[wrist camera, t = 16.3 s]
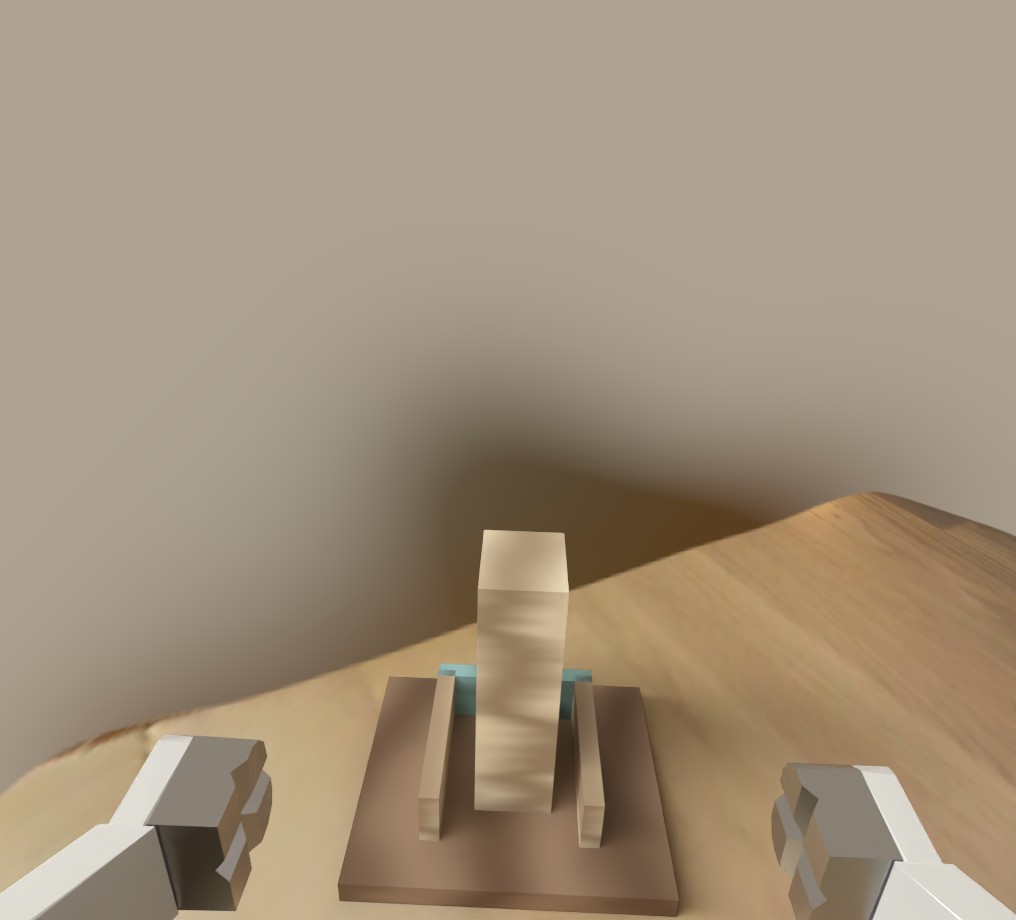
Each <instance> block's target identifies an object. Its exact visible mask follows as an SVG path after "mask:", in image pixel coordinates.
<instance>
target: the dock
mask: <svg viewBox="0 0 1016 920" xmlns="http://www.w3.org/2000/svg"><path fill="white" fill-rule="evenodd" d="M476 679H477V665H460V664H440V667H439V673H438V679H433V678H410V677H389V680H388V684H387V688H386V692H385V696H384V700H383V704H382V708H381V712H380V716H379V720H378V724H377V728H376V732H375V736H374V740H373V744H372V748H371V752H370V756H369V760H368V765H367V769H366V773H365V777H364V781H363V785H362V789H361V793H360V797H359V801H358V805H357V809H356V813H355V817H354V821H353V825H352V829H351V833H350V837H349V841H348V845H347V849H346V853H345V857H344V861H343V865H342V869H341V874H340V878H339V882H338V890H339V900H340V901H359V902H381V903H402V904H423V905H444V906H465V907H486V908H507V909H528V910H549V911H570V912H591V913H612V914H633V915H654V916H675V917H676V913H677V908H678V903H679V897H678V892H677V887H676V881H675V876H674V870H673V865H672V860H671V854H670V849H669V844H668V838H667V833H666V827H665V822H664V817H663V811H662V806H661V800H660V795H659V790H658V784H657V779H656V774H655V768H654V763H653V757H652V752H651V747H650V741H649V736H648V730H647V725H646V720H645V714H644V709H643V704H642V698H641V693H640V688H638V687H615V686H592V678H591V670H574V669H563V671H562V683H561V695H560V708H559V720H558V732H557V745H556V757H555V769H554V781H553V794H552V806H551V813H531V812H508V811H485V810H474V799H475V739H476Z"/></svg>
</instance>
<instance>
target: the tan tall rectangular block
mask: <svg viewBox="0 0 1016 920" xmlns="http://www.w3.org/2000/svg"><path fill="white" fill-rule="evenodd" d="M483 537H484V538H483V546H482V556H481V565H480V575H479V584H478V619H477V679H476V739H475V799H474V810H485V811H508V812H531V813H551V806H552V794H553V781H554V769H555V757H556V745H557V732H558V720H559V708H560V695H561V683H562V671H563V659H564V646H565V634H566V622H567V609H568V597H569V588H568V576H567V564H566V551H565V539H564V533H547V532H522V531H498V530H484V536H483Z"/></svg>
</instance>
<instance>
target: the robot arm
mask: <svg viewBox="0 0 1016 920" xmlns="http://www.w3.org/2000/svg"><path fill="white" fill-rule="evenodd" d="M266 758H267V754H266V750H265V745H264V742H263V741H260V740H250V739H236V738H222V737H208V736H188V735H173V734H166V735H165V736H164V737H163V738H161V739H160V740H159V741H158V742H157V743H156V745H155V747H154V748H153V750H152V752H151V753H150V755H149V757H148V758H147V760H146V762H145V763H144V765H143V767H142V768H141V770H140V772H139V773H138V775H137V777H136V779H135V780H134V782H133V784H132V785H131V787H130V789H129V790H128V792H127V794H126V795H125V797H124V799H123V800H122V802H121V804H120V805H119V807H118V809H117V810H116V812H115V814H114V815H113V817H112V819H111V820H110V822H109V824H98V825H96V826H95V827H93V828H92V829H91V830H89V831H88V832H86V833H85V834H84V835H82V836H81V837H79V838H78V839H76V840H75V841H74V842H72V843H71V844H69V845H68V846H67V847H65V848H64V849H62V850H61V851H59V852H58V853H57V854H55V855H54V856H52V857H51V858H50V859H48V860H47V861H45V862H44V863H42V864H41V865H40V866H38V867H37V868H35V869H34V870H33V871H31V872H30V873H28V874H27V875H25V876H24V877H23V878H21V879H20V880H18V881H17V882H16V883H14V884H13V885H11V886H10V887H8V888H7V889H6V890H4V891H3V892H1V893H0V920H173V919H174V918H175V917H176V916H177V915H178V910H205V911H236V909H237V906H238V904H239V901H240V898H241V896H242V893H243V891H244V888H245V885H246V883H247V880H248V877H249V875H250V872H251V869H252V867H251V862H250V856H249V852H250V851H251V850H252V849H254V848H255V847H256V846H257V845H258V844H259V843H261V842H262V840H263V837H264V834H265V831H266V828H267V825H268V821H269V816H270V811H271V806H272V785H271V778H270V777H269V776H268V775H267V774H266V773H265V772H264V771H263V770H262V768H263V766H264V763H265V761H266ZM780 781H781V784H782V787H783V790H784V792H785V793H784V794H783V795H781V796H780V797H779V798H778V799H776V800H775V802H774V807H773V812H772V838H773V844H774V849H775V853H776V856H777V860H778V863H779V866H780V867H781V868H782V869H783V870H784V871H785V872H786V873H787V874H788V875H789V876H790V877H791V878H792V879H793V880H792V884H791V888H790V891H789V898H790V901H791V904H792V907H793V910H794V913H795V916H796V920H1016V915H1015V914H1014V913H1013V912H1012V911H1011V910H1009V909H1008V908H1007V907H1006V906H1004V905H1003V904H1002V903H1001V902H999V901H998V900H997V899H996V898H994V897H993V896H992V895H991V894H989V893H988V892H987V891H986V890H985V889H983V888H982V887H981V886H980V885H978V884H977V883H976V882H975V881H973V880H972V879H971V878H970V877H968V876H967V875H966V874H965V873H963V872H962V871H961V870H960V869H959V868H957V867H956V866H955V865H954V864H943V862H942V861H941V859H940V857H939V855H938V853H937V851H936V849H935V848H934V846H933V844H932V842H931V840H930V838H929V836H928V835H927V833H926V831H925V829H924V827H923V825H922V824H921V822H920V820H919V818H918V816H917V814H916V812H915V811H914V809H913V807H912V805H911V803H910V801H909V799H908V798H907V796H906V794H905V792H904V790H903V788H902V787H901V785H900V783H899V781H898V779H897V777H896V775H895V774H894V772H893V771H892V770H891V769H889V768H888V767H880V766H851V765H836V764H805V763H788V764H787V765H786V766H785V767H784V769H783V772H782V776H781V779H780Z"/></svg>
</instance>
